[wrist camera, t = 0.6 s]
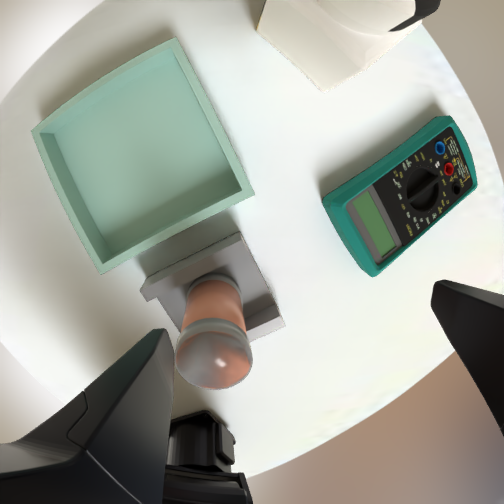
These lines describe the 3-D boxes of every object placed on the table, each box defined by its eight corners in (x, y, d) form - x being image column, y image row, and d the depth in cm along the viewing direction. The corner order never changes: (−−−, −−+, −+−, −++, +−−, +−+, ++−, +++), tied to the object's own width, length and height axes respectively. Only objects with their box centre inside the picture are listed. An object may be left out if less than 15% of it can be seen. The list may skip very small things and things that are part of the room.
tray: (111, 263, 22) (100, 275, 19) (47, 132, 18) (30, 130, 15) (251, 190, 21) (255, 194, 19) (180, 49, 17) (175, 36, 15)
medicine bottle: (314, -11, 16) (375, -95, 5) (376, 48, 18) (474, -3, 7) (253, 32, 18) (286, -68, 6) (322, 95, 19) (418, 46, 8)
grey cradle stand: (193, 349, 24) (192, 366, 22) (146, 277, 22) (139, 290, 20) (279, 311, 24) (285, 326, 22) (239, 231, 22) (242, 239, 20)
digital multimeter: (466, 180, 23) (486, 184, 20) (358, 271, 24) (373, 284, 22) (437, 113, 21) (458, 110, 18) (315, 200, 22) (328, 205, 19)
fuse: (203, 329, 24) (199, 398, 16) (177, 286, 22) (159, 347, 15) (250, 308, 23) (264, 373, 16) (226, 263, 22) (230, 316, 14)
